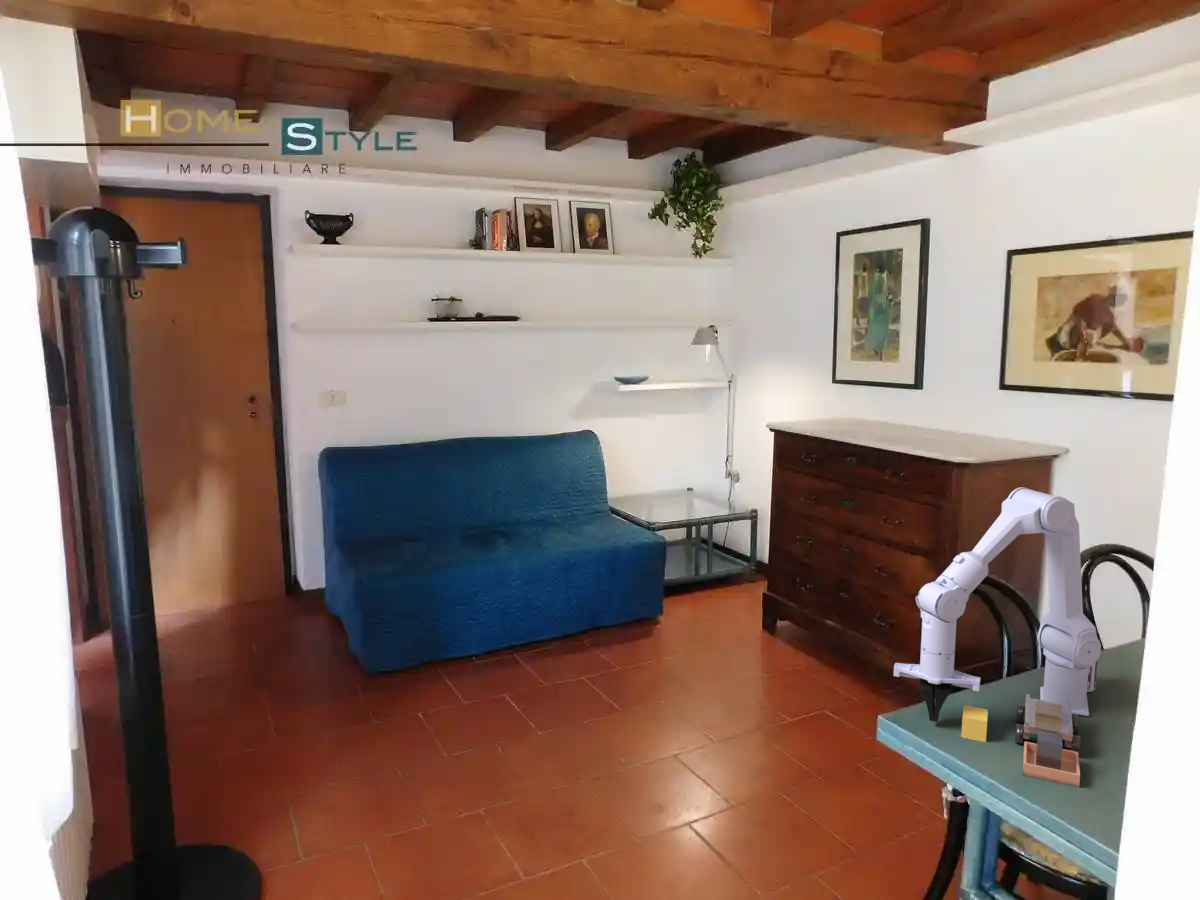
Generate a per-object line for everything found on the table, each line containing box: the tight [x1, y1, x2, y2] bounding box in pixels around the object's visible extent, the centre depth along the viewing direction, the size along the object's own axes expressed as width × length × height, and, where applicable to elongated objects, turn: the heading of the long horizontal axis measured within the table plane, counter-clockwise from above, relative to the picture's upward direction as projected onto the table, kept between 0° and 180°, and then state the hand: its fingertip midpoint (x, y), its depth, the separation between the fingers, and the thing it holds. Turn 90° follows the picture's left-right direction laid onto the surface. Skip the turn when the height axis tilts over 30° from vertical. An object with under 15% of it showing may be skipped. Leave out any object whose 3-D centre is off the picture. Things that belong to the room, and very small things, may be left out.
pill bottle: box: [1087, 659, 1099, 693], centre depth 164 cm, size 5×5×10 cm
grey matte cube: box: [1036, 731, 1063, 770], centre depth 135 cm, size 4×4×5 cm
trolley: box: [1014, 693, 1082, 757], centre depth 145 cm, size 12×10×6 cm
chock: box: [960, 704, 989, 743], centre depth 147 cm, size 5×4×4 cm
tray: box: [1022, 740, 1081, 788], centre depth 135 cm, size 8×8×2 cm
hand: (933, 718), depth 150 cm, fingers closed
